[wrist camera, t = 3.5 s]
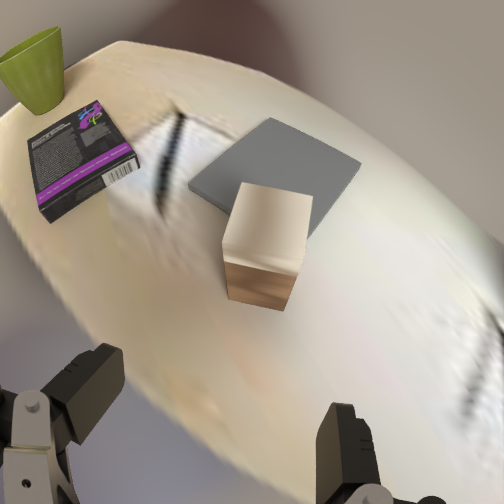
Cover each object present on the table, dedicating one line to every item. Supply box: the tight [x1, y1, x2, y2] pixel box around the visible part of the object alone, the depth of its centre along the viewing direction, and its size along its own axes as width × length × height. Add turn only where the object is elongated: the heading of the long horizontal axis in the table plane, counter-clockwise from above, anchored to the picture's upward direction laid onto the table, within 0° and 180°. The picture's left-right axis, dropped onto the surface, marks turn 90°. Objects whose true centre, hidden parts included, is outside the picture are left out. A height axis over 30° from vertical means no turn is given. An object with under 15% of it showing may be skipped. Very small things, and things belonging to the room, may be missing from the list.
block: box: [222, 182, 313, 311], centre depth 23 cm, size 5×5×10 cm
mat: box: [188, 117, 362, 239], centre depth 34 cm, size 14×16×1 cm
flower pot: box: [0, 26, 64, 115], centre depth 38 cm, size 15×15×16 cm
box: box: [27, 100, 140, 224], centre depth 35 cm, size 14×4×20 cm
